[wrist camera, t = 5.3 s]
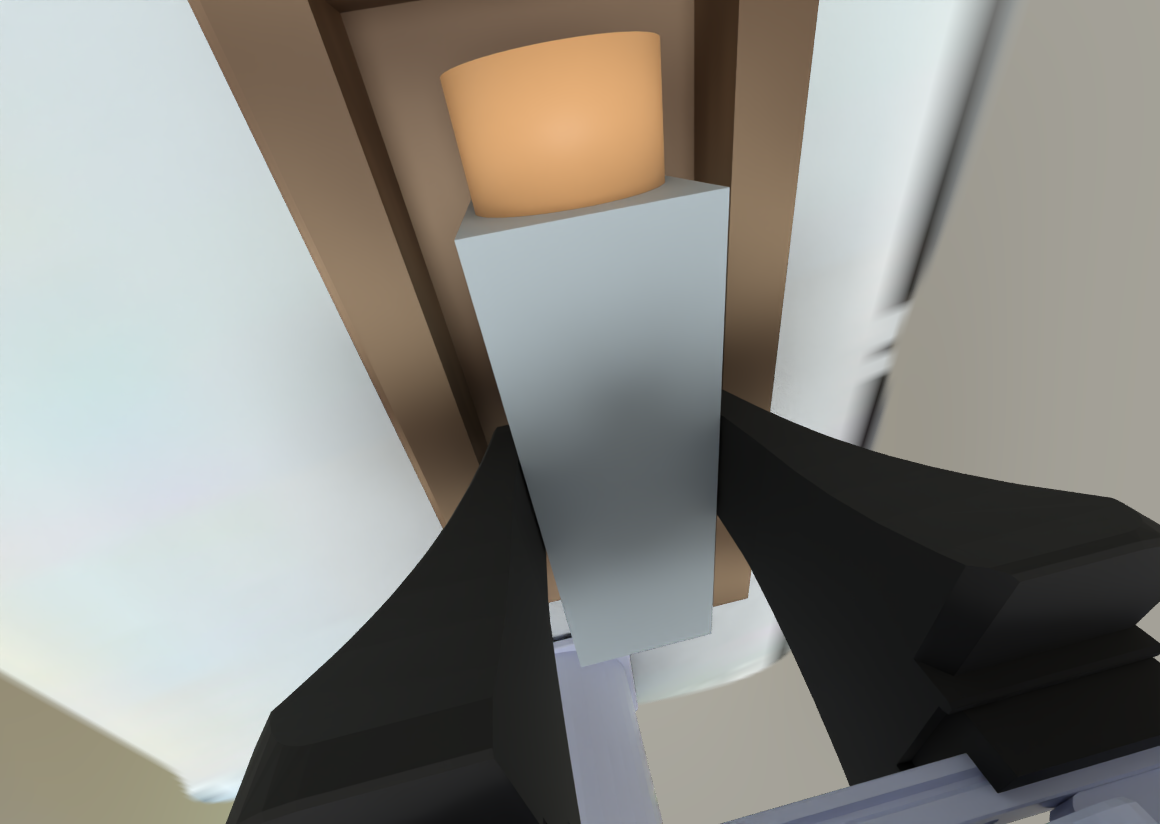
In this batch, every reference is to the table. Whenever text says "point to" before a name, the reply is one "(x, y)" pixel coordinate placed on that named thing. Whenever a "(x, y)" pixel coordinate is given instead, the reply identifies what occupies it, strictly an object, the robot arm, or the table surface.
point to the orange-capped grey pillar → (599, 326)
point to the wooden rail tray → (441, 195)
